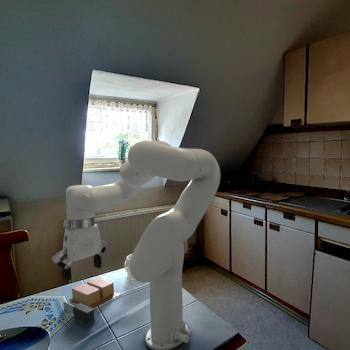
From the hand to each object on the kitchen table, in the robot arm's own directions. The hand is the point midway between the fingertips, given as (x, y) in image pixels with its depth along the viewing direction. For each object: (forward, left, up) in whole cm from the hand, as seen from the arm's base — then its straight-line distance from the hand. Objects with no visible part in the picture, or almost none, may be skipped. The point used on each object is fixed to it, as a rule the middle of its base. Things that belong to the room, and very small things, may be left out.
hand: (83, 272), depth 86 cm
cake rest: (+11, -12, -16) cm, 23 cm away
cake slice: (+11, -7, -16) cm, 20 cm away
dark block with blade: (+4, +1, -17) cm, 17 cm away
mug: (+11, -28, -17) cm, 35 cm away
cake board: (+10, -9, -17) cm, 22 cm away
